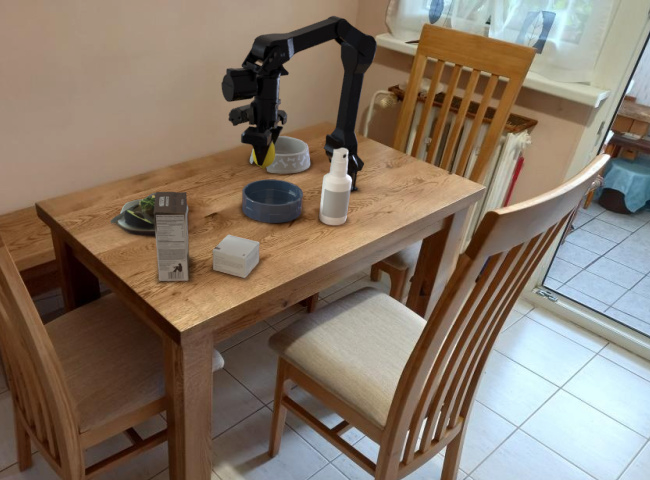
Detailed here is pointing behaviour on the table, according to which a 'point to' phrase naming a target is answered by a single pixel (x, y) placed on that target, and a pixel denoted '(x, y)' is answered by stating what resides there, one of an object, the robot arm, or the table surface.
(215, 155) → the table surface
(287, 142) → the dog bowl
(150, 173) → the table surface
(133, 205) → the salad plate
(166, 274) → the coffee box
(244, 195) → the bowl
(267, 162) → the lemon
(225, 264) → the small box
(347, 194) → the spray bottle
